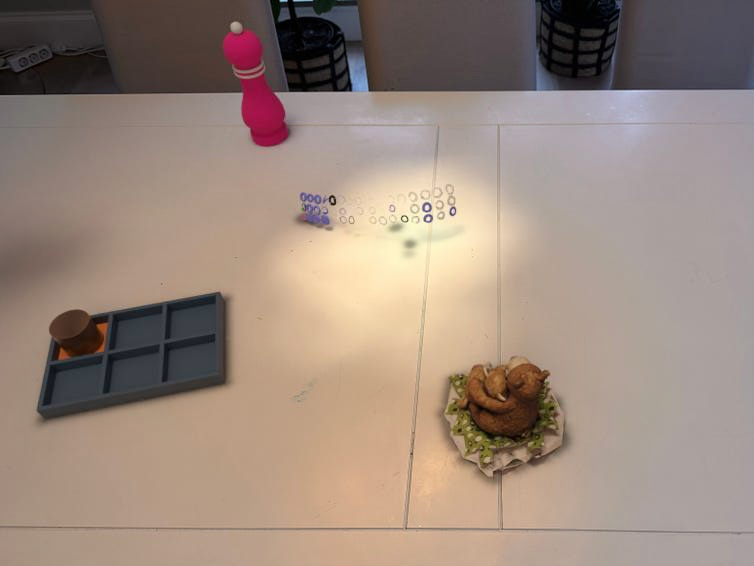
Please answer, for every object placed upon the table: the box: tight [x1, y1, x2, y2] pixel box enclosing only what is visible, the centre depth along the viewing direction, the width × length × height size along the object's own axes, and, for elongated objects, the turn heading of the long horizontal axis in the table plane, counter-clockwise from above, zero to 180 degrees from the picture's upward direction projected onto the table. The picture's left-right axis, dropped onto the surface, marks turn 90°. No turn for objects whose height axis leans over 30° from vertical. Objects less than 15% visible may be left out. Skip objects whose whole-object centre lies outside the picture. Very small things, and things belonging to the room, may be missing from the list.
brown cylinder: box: [48, 309, 104, 357], centre depth 88 cm, size 5×5×4 cm
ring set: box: [299, 169, 457, 229], centre depth 99 cm, size 25×12×12 cm, turn 72°
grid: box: [36, 291, 226, 420], centre depth 88 cm, size 15×22×2 cm
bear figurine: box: [443, 355, 565, 478], centre depth 77 cm, size 14×15×12 cm
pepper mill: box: [222, 21, 289, 147], centre depth 111 cm, size 7×7×20 cm
